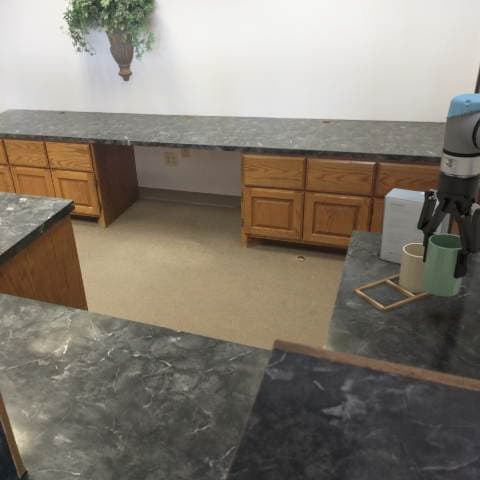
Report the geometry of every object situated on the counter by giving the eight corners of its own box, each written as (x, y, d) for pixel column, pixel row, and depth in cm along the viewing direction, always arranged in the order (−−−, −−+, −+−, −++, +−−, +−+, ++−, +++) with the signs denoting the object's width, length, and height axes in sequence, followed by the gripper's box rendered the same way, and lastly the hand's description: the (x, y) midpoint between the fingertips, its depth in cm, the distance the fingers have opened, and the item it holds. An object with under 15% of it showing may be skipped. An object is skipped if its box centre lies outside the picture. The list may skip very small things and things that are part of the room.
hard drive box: (443, 261, 144) (454, 196, 135) (435, 273, 139) (446, 206, 130) (387, 248, 153) (394, 186, 145) (377, 259, 149) (384, 195, 140)
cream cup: (437, 293, 131) (443, 251, 125) (414, 301, 128) (420, 260, 123) (413, 280, 137) (418, 240, 132) (391, 287, 135) (396, 247, 129)
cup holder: (446, 294, 130) (447, 285, 129) (383, 317, 124) (384, 309, 123) (413, 276, 139) (414, 268, 138) (353, 297, 133) (353, 289, 132)
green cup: (467, 290, 115) (476, 243, 109) (441, 300, 112) (450, 252, 107) (438, 275, 121) (446, 230, 116) (414, 284, 119) (420, 239, 114)
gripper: (406, 163, 112) (395, 254, 122) (493, 191, 95) (472, 294, 105) (432, 156, 114) (419, 246, 124) (521, 182, 97) (498, 284, 107)
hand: (443, 268), depth 115 cm, fingers closed on green cup, 8 cm apart
